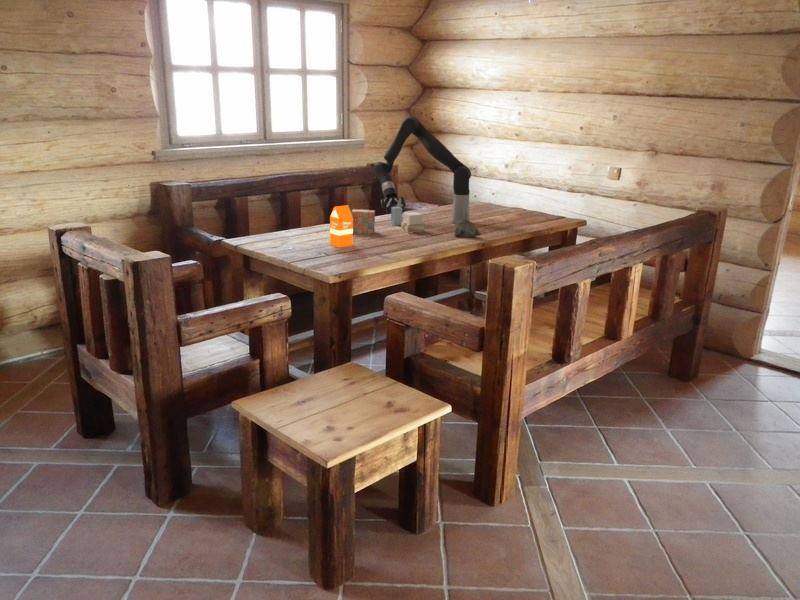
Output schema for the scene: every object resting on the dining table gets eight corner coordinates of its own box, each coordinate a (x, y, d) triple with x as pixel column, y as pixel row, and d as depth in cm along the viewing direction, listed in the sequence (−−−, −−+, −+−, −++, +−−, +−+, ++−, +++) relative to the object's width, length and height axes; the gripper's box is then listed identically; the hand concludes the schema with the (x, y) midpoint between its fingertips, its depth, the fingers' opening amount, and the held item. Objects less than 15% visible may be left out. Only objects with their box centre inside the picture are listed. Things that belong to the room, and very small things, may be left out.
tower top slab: (403, 221, 385) (403, 212, 383) (416, 220, 388) (416, 212, 387) (409, 224, 378) (409, 215, 377) (422, 223, 381) (422, 214, 380)
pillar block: (390, 223, 402) (391, 206, 399) (398, 223, 404) (398, 206, 401) (393, 225, 397) (394, 208, 394) (401, 224, 399) (402, 208, 396)
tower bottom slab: (401, 230, 387) (401, 221, 386) (417, 228, 391) (417, 220, 389) (408, 233, 378) (408, 224, 377) (424, 232, 382) (424, 223, 381)
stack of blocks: (334, 232, 376) (334, 210, 372) (336, 230, 382) (336, 208, 378) (373, 234, 375) (373, 212, 371) (374, 231, 380) (375, 209, 377)
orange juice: (353, 244, 349) (353, 206, 343) (339, 247, 343) (338, 207, 337) (343, 242, 355) (343, 203, 348) (329, 244, 349) (329, 205, 343)
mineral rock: (481, 238, 370) (482, 219, 367) (467, 240, 364) (468, 222, 361) (465, 233, 380) (466, 216, 377) (451, 236, 373) (451, 218, 370)
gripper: (379, 187, 400) (386, 210, 394) (402, 186, 405) (409, 209, 399) (376, 195, 406) (382, 217, 400) (398, 194, 412) (405, 216, 405)
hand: (396, 213), depth 399 cm, fingers open, 8 cm apart
